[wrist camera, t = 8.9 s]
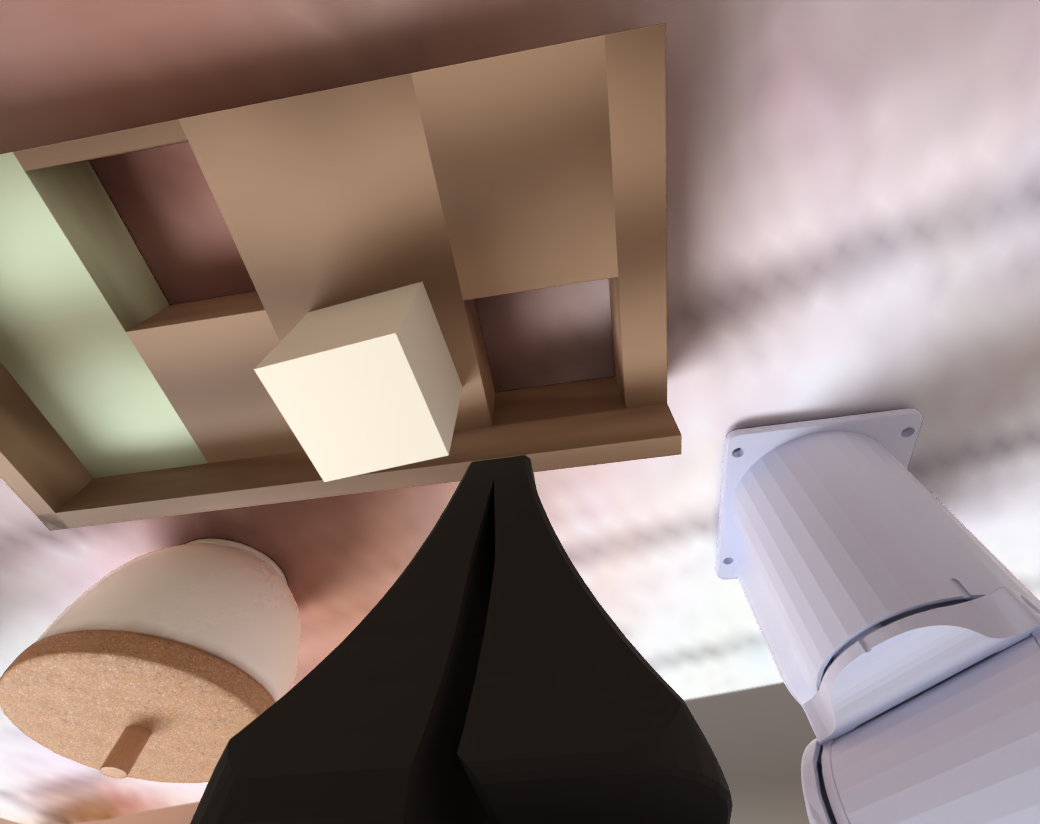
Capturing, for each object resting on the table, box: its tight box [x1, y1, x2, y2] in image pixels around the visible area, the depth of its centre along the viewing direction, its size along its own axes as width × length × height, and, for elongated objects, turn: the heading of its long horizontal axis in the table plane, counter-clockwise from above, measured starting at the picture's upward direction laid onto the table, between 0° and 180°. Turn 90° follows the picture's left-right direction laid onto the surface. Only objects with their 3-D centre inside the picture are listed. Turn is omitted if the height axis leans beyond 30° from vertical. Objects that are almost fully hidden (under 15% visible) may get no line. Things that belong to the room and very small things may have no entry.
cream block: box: [254, 282, 463, 482], centre depth 16 cm, size 4×4×4 cm
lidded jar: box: [0, 538, 302, 783], centre depth 24 cm, size 11×11×9 cm
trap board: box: [0, 23, 681, 531], centre depth 17 cm, size 12×24×4 cm, turn 99°
